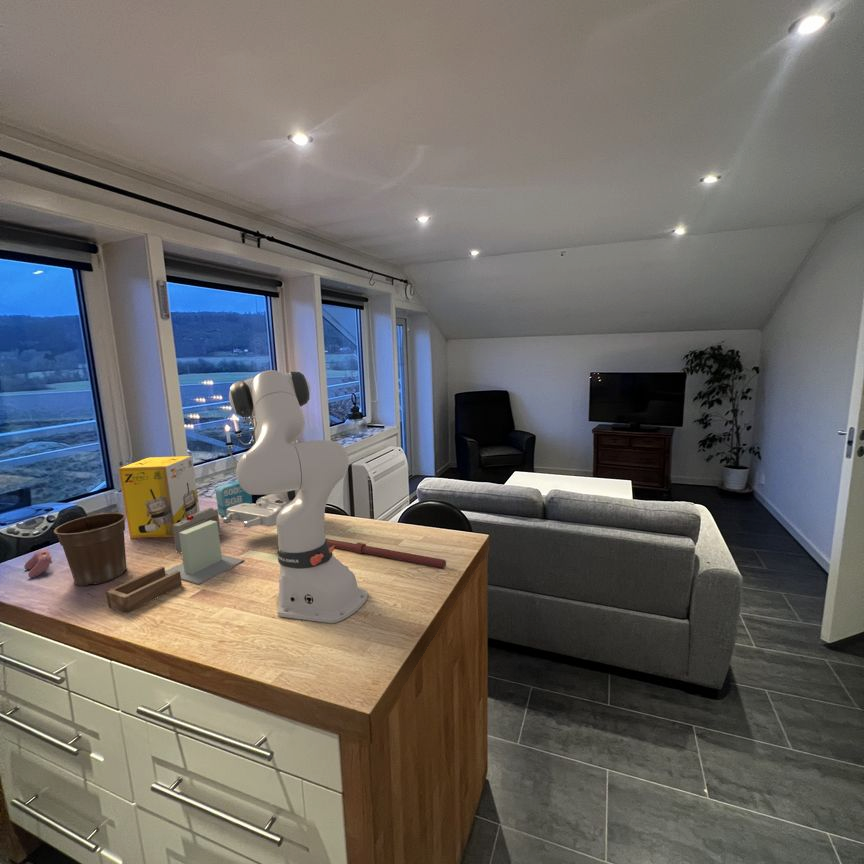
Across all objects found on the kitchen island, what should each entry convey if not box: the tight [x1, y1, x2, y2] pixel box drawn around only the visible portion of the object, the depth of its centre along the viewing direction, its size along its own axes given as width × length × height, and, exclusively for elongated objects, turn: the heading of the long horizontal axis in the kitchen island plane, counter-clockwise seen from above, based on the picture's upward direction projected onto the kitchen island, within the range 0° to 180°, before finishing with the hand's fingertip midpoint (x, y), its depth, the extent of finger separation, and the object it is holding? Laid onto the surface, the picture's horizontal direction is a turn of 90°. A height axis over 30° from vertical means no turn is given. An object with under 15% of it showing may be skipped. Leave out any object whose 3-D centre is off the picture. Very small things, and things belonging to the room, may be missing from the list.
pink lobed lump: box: [23, 549, 54, 579], centre depth 133 cm, size 10×5×7 cm, turn 48°
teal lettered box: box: [215, 481, 253, 518], centre depth 176 cm, size 12×4×12 cm, turn 144°
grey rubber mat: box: [165, 554, 245, 585], centre depth 131 cm, size 16×15×1 cm
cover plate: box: [179, 520, 223, 575], centre depth 130 cm, size 3×10×12 cm, turn 154°
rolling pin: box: [326, 538, 447, 569], centre depth 134 cm, size 45×3×3 cm, turn 64°
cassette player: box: [172, 506, 222, 553], centre depth 149 cm, size 16×3×10 cm, turn 160°
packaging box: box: [118, 455, 201, 539], centre depth 161 cm, size 16×16×25 cm
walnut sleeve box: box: [105, 566, 183, 614], centre depth 116 cm, size 8×14×4 cm, turn 154°
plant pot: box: [53, 512, 128, 587], centre depth 127 cm, size 16×16×16 cm
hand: (234, 523), depth 140 cm, fingers open, 8 cm apart
